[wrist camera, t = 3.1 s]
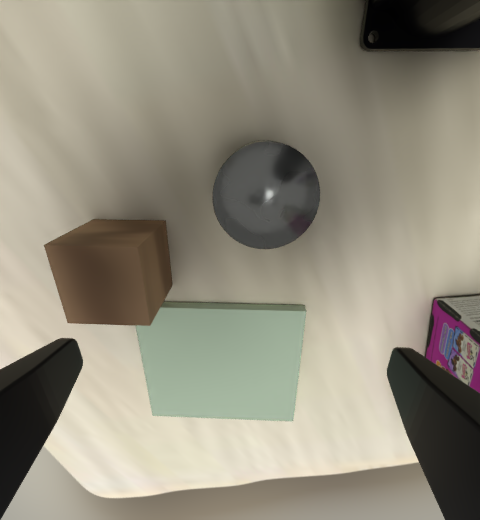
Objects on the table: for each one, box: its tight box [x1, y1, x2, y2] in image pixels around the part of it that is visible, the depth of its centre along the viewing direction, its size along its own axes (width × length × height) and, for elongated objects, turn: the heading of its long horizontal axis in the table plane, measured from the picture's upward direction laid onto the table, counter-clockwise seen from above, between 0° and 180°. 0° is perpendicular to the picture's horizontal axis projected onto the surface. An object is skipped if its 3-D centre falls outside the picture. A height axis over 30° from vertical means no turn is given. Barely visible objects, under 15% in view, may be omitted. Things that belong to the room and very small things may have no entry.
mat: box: [136, 302, 306, 421], centre depth 23 cm, size 13×12×1 cm
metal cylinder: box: [213, 140, 320, 249], centre depth 15 cm, size 5×5×5 cm
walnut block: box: [44, 219, 172, 326], centre depth 18 cm, size 5×5×5 cm
